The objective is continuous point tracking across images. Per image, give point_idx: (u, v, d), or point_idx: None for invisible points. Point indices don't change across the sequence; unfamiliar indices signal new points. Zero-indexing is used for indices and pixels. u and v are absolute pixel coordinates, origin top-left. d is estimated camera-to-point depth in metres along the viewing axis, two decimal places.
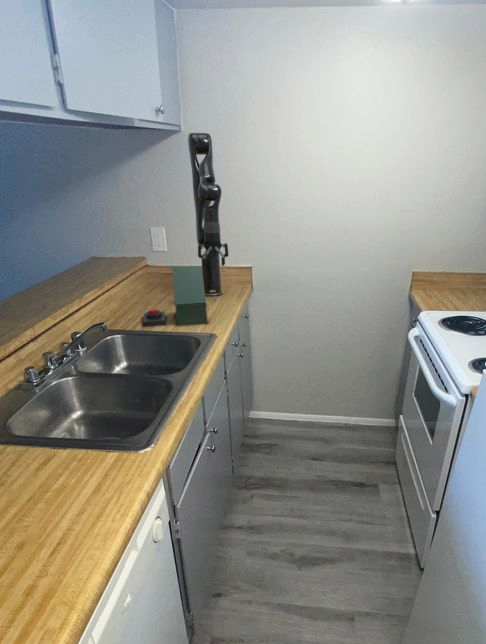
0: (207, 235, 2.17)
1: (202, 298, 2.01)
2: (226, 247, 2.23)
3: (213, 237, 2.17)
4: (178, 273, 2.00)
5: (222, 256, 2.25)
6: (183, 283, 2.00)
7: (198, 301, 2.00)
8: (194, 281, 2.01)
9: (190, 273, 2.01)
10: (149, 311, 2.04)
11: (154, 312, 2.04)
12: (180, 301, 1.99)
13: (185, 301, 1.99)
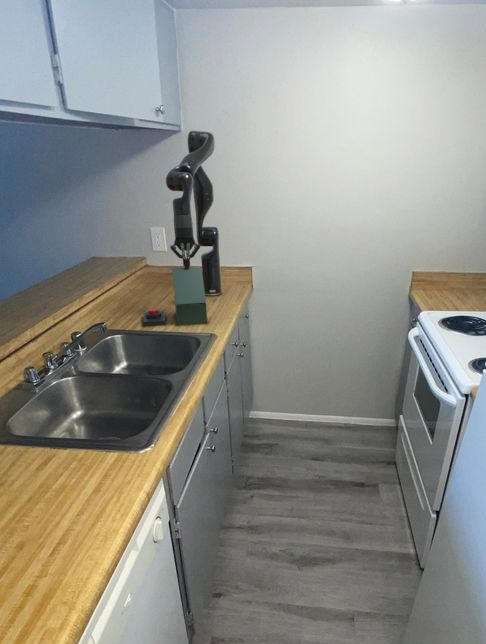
0: (177, 230, 1.92)
1: (202, 298, 2.01)
2: (197, 248, 1.98)
3: (184, 232, 1.92)
4: (178, 274, 2.01)
5: (187, 256, 1.99)
6: (183, 283, 2.00)
7: (198, 301, 2.00)
8: (194, 282, 2.02)
9: (190, 274, 2.02)
10: (149, 311, 2.04)
11: (154, 312, 2.04)
12: (180, 301, 1.99)
13: (185, 301, 1.99)
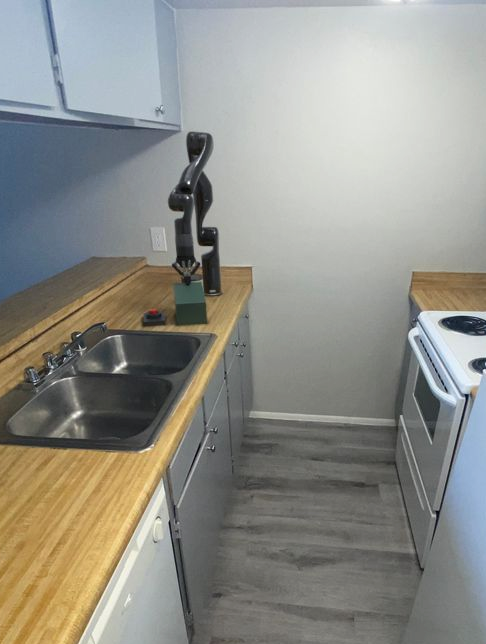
0: (179, 249, 1.99)
1: (202, 299, 2.02)
2: (197, 266, 2.06)
3: (185, 251, 1.99)
4: (179, 286, 2.08)
5: (188, 273, 2.06)
6: (183, 291, 2.05)
7: (198, 301, 2.01)
8: (194, 290, 2.07)
9: (190, 286, 2.09)
10: (149, 311, 2.04)
11: (154, 312, 2.04)
12: (180, 302, 1.99)
13: (185, 302, 2.00)
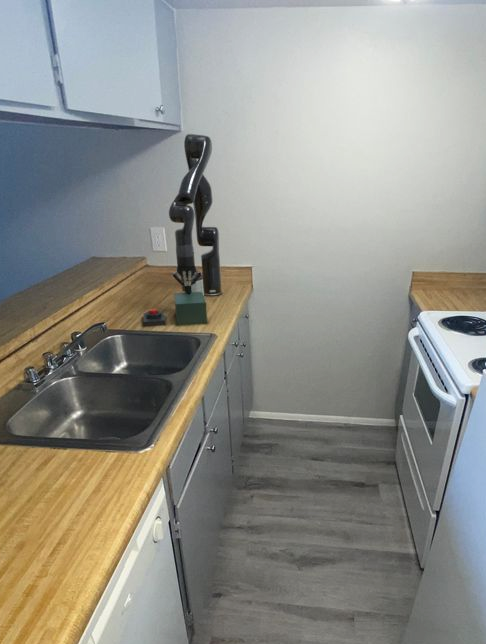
0: (180, 259, 2.02)
1: (202, 300, 2.02)
2: (198, 276, 2.08)
3: (186, 261, 2.02)
4: (179, 294, 2.10)
5: (189, 283, 2.09)
6: (183, 297, 2.07)
7: (198, 302, 2.01)
8: (195, 296, 2.08)
9: (191, 294, 2.11)
10: (149, 311, 2.04)
11: (154, 312, 2.04)
12: (180, 302, 2.00)
13: (185, 302, 2.00)
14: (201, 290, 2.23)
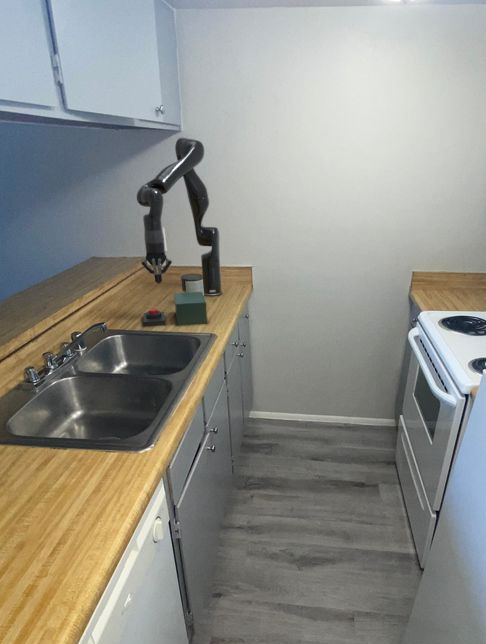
0: (148, 245, 1.91)
1: (202, 300, 2.02)
2: (168, 264, 1.97)
3: (155, 248, 1.91)
4: (179, 294, 2.10)
5: (159, 272, 1.98)
6: (183, 297, 2.07)
7: (198, 302, 2.01)
8: (195, 296, 2.08)
9: (191, 294, 2.11)
10: (149, 311, 2.04)
11: (154, 312, 2.04)
12: (180, 302, 2.00)
13: (185, 302, 2.00)
14: (201, 290, 2.23)
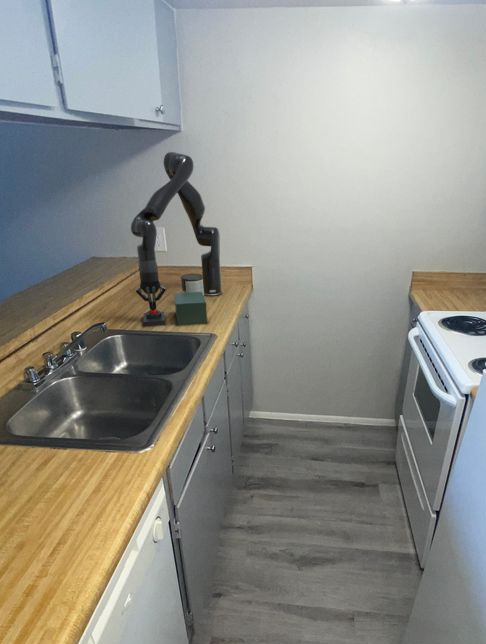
0: (142, 275, 1.95)
1: (202, 300, 2.02)
2: (162, 292, 2.01)
3: (148, 277, 1.95)
4: (179, 294, 2.10)
5: (153, 299, 2.02)
6: (183, 297, 2.07)
7: (198, 302, 2.01)
8: (195, 296, 2.08)
9: (191, 294, 2.11)
10: (149, 311, 2.04)
11: (154, 312, 2.04)
12: (180, 302, 2.00)
13: (185, 302, 2.00)
14: (201, 290, 2.23)
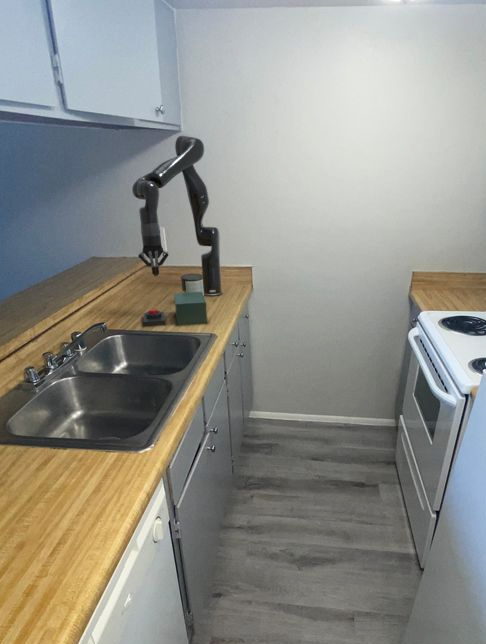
0: (145, 238, 1.92)
1: (202, 300, 2.02)
2: (165, 256, 1.98)
3: (151, 240, 1.92)
4: (179, 294, 2.10)
5: (156, 264, 1.99)
6: (183, 297, 2.07)
7: (198, 302, 2.01)
8: (195, 296, 2.08)
9: (191, 294, 2.11)
10: (149, 311, 2.04)
11: (154, 312, 2.04)
12: (180, 302, 2.00)
13: (185, 302, 2.00)
14: (201, 290, 2.23)
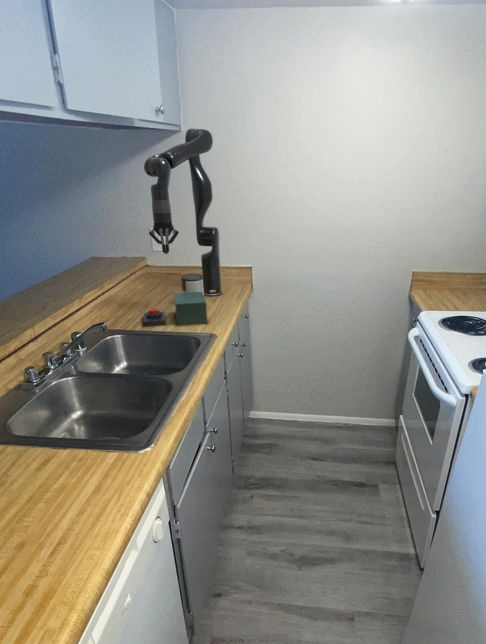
0: (156, 215, 1.95)
1: (202, 300, 2.02)
2: (175, 234, 2.01)
3: (162, 217, 1.95)
4: (179, 294, 2.10)
5: (166, 242, 2.02)
6: (183, 297, 2.07)
7: (198, 302, 2.01)
8: (195, 296, 2.08)
9: (191, 294, 2.11)
10: (149, 311, 2.04)
11: (154, 312, 2.04)
12: (180, 302, 2.00)
13: (185, 302, 2.00)
14: (201, 290, 2.23)
